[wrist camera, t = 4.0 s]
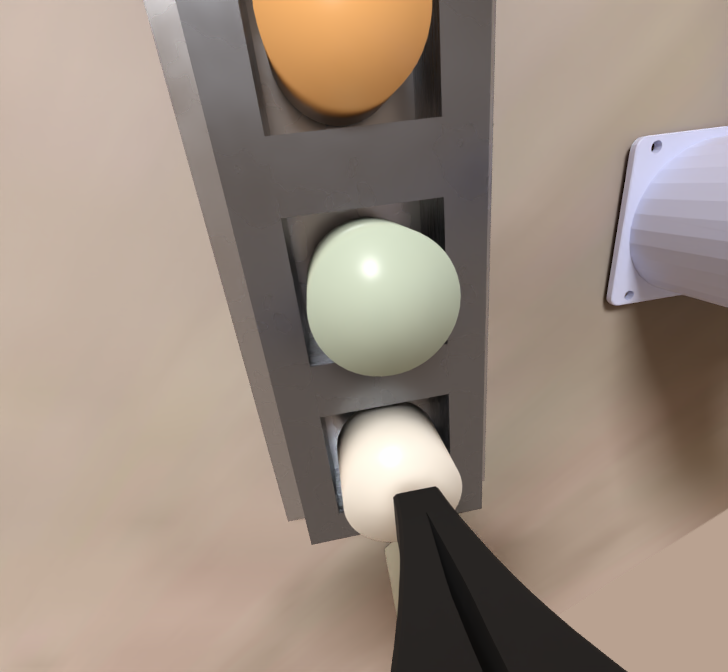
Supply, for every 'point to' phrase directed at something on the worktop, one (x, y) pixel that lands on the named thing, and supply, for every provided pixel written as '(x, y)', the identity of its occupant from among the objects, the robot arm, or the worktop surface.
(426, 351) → the sage button
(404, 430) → the ivory button
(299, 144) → the button panel
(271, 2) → the orange button
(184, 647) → the worktop surface
